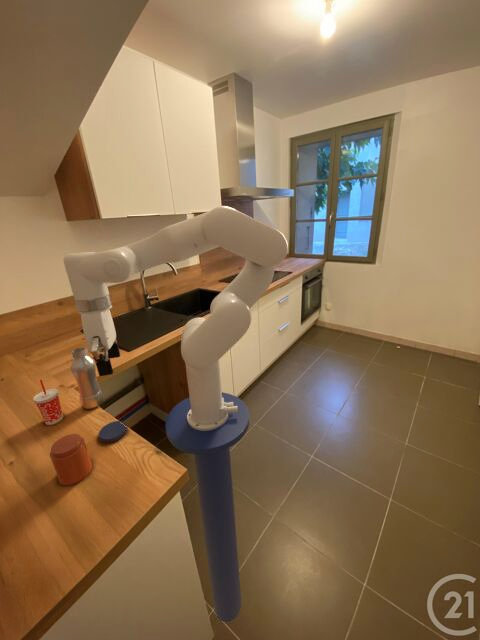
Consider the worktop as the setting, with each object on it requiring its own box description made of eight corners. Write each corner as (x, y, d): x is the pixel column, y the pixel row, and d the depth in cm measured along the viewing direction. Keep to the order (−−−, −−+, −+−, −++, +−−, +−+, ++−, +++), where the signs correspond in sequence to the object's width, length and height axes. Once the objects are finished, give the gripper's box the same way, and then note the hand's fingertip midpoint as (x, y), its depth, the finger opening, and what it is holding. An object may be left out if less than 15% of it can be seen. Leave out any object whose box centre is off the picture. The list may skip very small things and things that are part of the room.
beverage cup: (37, 426, 78) (21, 385, 73) (53, 412, 83) (40, 374, 79) (55, 427, 77) (41, 386, 72) (70, 413, 82) (58, 374, 78)
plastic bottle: (80, 405, 86) (64, 350, 80) (102, 396, 90) (88, 343, 84) (84, 414, 82) (67, 357, 75) (107, 405, 86) (93, 349, 79)
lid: (93, 440, 71) (92, 436, 71) (112, 422, 77) (111, 419, 77) (115, 445, 69) (114, 441, 69) (132, 426, 75) (131, 422, 75)
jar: (97, 459, 65) (89, 431, 62) (83, 484, 59) (73, 454, 56) (69, 461, 65) (60, 433, 62) (52, 486, 58) (40, 456, 56)
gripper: (88, 297, 71) (103, 354, 77) (64, 316, 55) (85, 385, 61) (117, 294, 73) (130, 349, 78) (102, 311, 57) (119, 379, 63)
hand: (110, 365), depth 70 cm, fingers open, 9 cm apart
